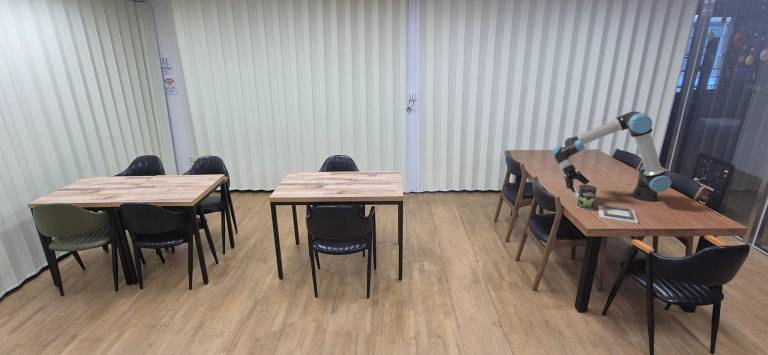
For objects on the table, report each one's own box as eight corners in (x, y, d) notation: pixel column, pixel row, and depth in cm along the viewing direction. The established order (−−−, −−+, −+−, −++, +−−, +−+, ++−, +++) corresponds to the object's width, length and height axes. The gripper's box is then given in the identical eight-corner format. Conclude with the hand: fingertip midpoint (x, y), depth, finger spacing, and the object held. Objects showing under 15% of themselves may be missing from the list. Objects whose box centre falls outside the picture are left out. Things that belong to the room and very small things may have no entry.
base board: (633, 211, 232) (634, 208, 231) (638, 223, 215) (638, 220, 214) (598, 206, 241) (598, 203, 240) (599, 218, 224) (600, 214, 223)
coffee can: (595, 210, 235) (599, 190, 230) (578, 209, 237) (581, 189, 233) (590, 204, 244) (594, 185, 240) (574, 203, 247) (577, 184, 242)
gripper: (575, 167, 255) (591, 193, 247) (551, 172, 244) (567, 200, 236) (583, 161, 249) (600, 188, 241) (559, 166, 238) (576, 195, 230)
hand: (584, 194), depth 239 cm, fingers open, 13 cm apart
